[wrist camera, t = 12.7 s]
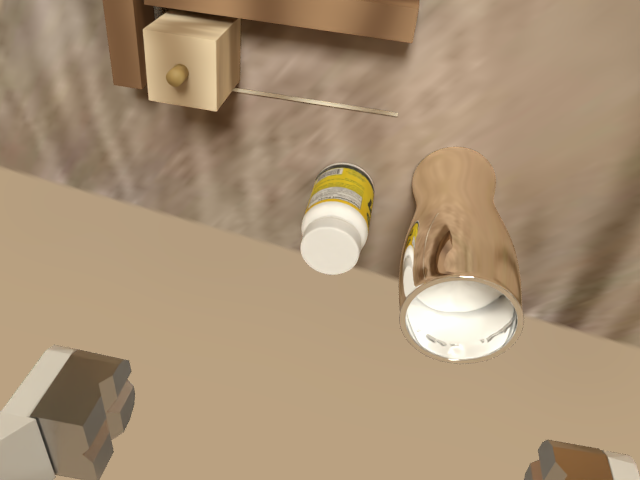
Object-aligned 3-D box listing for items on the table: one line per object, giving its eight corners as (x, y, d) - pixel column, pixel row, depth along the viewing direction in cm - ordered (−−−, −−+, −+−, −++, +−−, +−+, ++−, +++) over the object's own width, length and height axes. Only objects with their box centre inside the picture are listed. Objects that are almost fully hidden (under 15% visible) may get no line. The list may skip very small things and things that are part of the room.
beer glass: (388, 171, 43) (370, 306, 31) (469, 122, 40) (484, 252, 28) (438, 234, 46) (440, 381, 34) (519, 193, 42) (552, 339, 30)
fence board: (419, -2, 36) (418, 11, 33) (397, 115, 40) (395, 134, 38) (119, -44, 37) (98, -34, 35) (133, 75, 42) (114, 90, 39)
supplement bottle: (361, 221, 46) (349, 289, 39) (307, 200, 46) (285, 265, 39) (384, 174, 43) (375, 239, 37) (326, 151, 43) (306, 212, 36)
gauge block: (241, 15, 38) (209, 47, 33) (240, 80, 41) (210, 119, 35) (175, 5, 38) (134, 35, 33) (179, 70, 41) (141, 107, 36)
